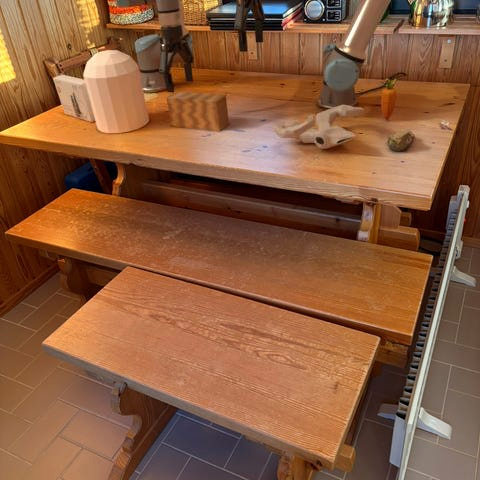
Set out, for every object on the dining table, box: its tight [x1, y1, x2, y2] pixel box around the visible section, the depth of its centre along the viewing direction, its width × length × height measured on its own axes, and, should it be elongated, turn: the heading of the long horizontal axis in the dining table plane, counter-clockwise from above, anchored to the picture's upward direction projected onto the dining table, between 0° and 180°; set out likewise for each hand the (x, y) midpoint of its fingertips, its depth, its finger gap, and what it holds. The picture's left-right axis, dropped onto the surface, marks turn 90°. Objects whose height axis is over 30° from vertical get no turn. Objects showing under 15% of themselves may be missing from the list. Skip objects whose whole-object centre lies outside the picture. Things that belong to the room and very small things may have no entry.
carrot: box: [380, 78, 398, 122], centre depth 161 cm, size 5×5×15 cm
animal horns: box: [273, 105, 365, 150], centre depth 153 cm, size 28×26×12 cm
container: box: [82, 49, 150, 134], centre depth 178 cm, size 21×21×28 cm
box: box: [166, 91, 230, 132], centre depth 175 cm, size 22×7×11 cm, turn 64°
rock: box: [387, 129, 416, 152], centre depth 146 cm, size 11×6×10 cm
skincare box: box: [52, 74, 96, 123], centre depth 193 cm, size 21×6×16 cm, turn 49°
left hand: (180, 86), depth 173 cm, fingers open, 13 cm apart
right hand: (251, 46), depth 163 cm, fingers open, 13 cm apart
